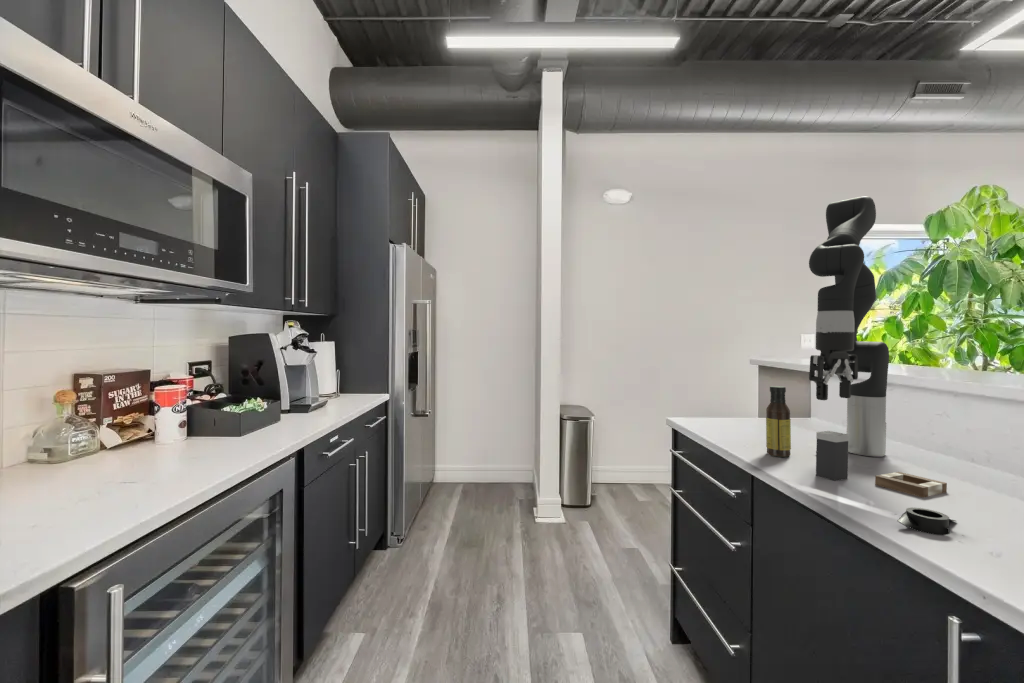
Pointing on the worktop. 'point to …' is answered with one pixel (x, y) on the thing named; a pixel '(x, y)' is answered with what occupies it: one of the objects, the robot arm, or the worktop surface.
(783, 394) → the sauce bottle
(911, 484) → the wooden rectangular frame
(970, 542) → the worktop surface
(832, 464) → the dark grey upright block
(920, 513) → the duct tape
